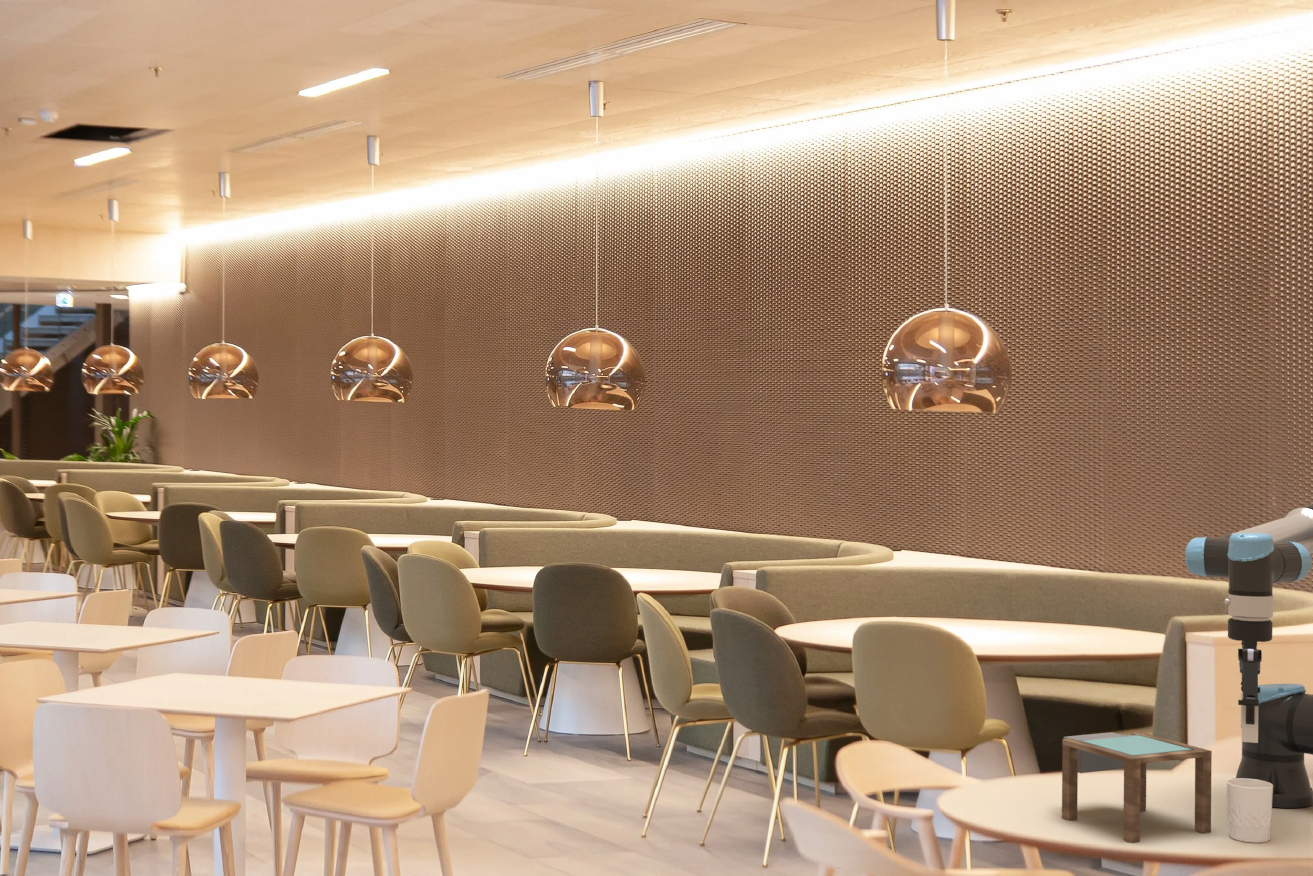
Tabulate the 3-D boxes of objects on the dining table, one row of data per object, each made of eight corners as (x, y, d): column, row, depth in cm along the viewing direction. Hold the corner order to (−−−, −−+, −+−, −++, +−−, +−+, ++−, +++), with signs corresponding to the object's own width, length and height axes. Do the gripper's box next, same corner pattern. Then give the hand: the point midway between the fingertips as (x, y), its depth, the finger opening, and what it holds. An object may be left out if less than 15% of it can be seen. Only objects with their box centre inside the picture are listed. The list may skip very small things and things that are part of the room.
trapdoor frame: (1138, 808, 288) (1139, 732, 288) (1210, 832, 271) (1211, 750, 271) (1061, 818, 280) (1062, 739, 280) (1131, 843, 263) (1131, 759, 263)
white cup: (1251, 846, 262) (1252, 790, 262) (1216, 835, 269) (1216, 780, 269) (1282, 841, 265) (1282, 785, 265) (1246, 830, 272) (1247, 776, 272)
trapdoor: (1116, 762, 290) (1116, 729, 290) (1191, 784, 272) (1191, 748, 272) (1059, 768, 285) (1059, 734, 285) (1132, 791, 266) (1132, 754, 266)
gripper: (1227, 610, 280) (1226, 721, 280) (1228, 624, 257) (1227, 746, 257) (1270, 612, 277) (1269, 724, 277) (1274, 627, 254) (1273, 750, 254)
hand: (1249, 735), depth 267 cm, fingers open, 13 cm apart
